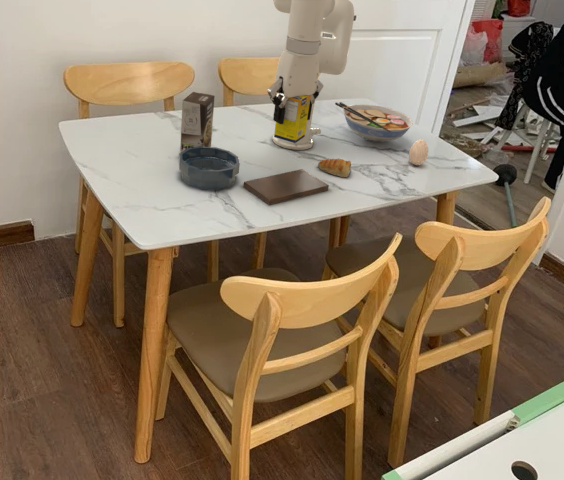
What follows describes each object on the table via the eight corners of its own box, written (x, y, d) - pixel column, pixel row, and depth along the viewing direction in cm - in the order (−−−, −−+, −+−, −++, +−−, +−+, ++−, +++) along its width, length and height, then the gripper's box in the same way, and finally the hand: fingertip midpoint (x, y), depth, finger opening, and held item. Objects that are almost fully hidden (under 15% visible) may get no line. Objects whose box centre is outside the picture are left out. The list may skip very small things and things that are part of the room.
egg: (413, 159, 188) (419, 135, 183) (427, 166, 185) (434, 141, 180) (402, 163, 184) (409, 138, 180) (417, 169, 181) (424, 144, 177)
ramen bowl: (424, 148, 197) (431, 124, 192) (372, 157, 185) (378, 131, 180) (373, 121, 213) (379, 98, 208) (323, 127, 201) (327, 103, 196)
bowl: (216, 162, 167) (217, 143, 164) (248, 184, 158) (250, 165, 155) (167, 171, 158) (168, 151, 155) (199, 195, 149) (200, 175, 146)
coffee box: (201, 162, 165) (205, 104, 156) (179, 158, 166) (181, 100, 157) (211, 151, 173) (215, 95, 164) (190, 146, 173) (192, 90, 164)
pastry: (315, 172, 170) (317, 159, 168) (319, 163, 176) (321, 151, 174) (348, 179, 169) (351, 166, 167) (351, 170, 175) (353, 157, 172)
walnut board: (301, 173, 168) (302, 168, 167) (327, 190, 161) (328, 185, 160) (243, 186, 156) (243, 181, 155) (269, 205, 150) (269, 199, 149)
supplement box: (304, 137, 152) (311, 94, 146) (295, 144, 148) (301, 99, 142) (283, 130, 154) (289, 88, 148) (273, 137, 149) (279, 93, 143)
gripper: (319, 40, 146) (308, 111, 156) (262, 43, 136) (254, 119, 146) (340, 48, 141) (327, 121, 151) (282, 52, 131) (273, 130, 141)
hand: (291, 119), depth 148 cm, fingers closed on supplement box, 7 cm apart
